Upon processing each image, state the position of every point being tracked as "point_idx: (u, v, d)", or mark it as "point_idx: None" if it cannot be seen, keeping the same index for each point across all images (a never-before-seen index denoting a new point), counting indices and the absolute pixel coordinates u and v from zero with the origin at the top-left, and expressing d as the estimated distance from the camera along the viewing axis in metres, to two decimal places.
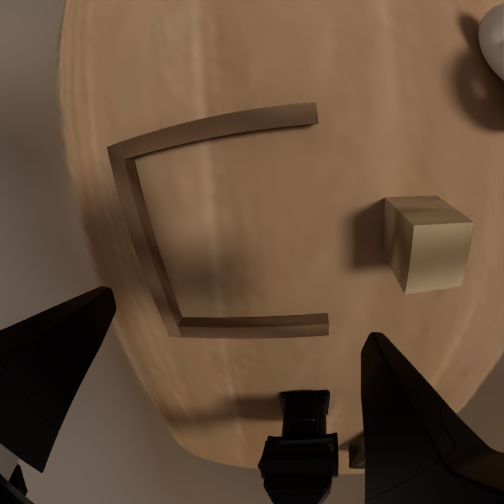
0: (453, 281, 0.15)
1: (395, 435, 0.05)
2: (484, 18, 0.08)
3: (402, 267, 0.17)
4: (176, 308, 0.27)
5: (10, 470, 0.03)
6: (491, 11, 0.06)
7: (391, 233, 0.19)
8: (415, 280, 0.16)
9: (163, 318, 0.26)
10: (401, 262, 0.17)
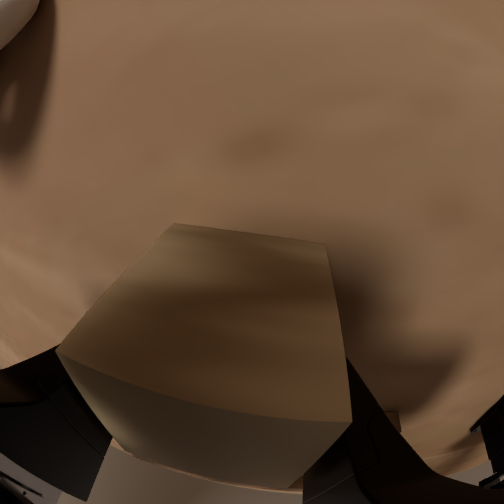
0: (302, 443, 0.04)
1: None
2: None
3: None
4: None
5: None
6: None
7: None
8: (253, 481, 0.05)
9: (297, 490, 0.19)
10: None
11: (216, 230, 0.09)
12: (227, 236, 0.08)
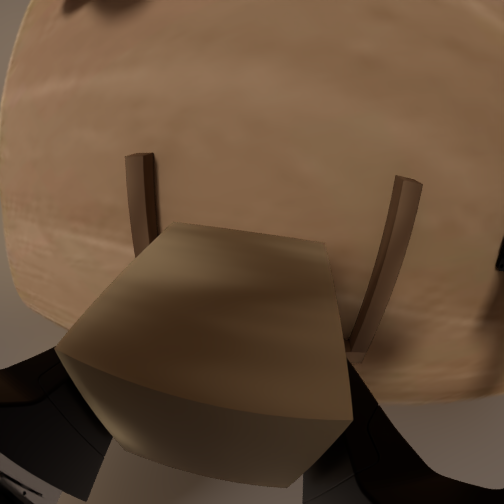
0: (302, 442, 0.04)
1: None
2: None
3: None
4: None
5: None
6: None
7: None
8: (253, 480, 0.05)
9: None
10: None
11: (216, 228, 0.09)
12: (227, 234, 0.08)
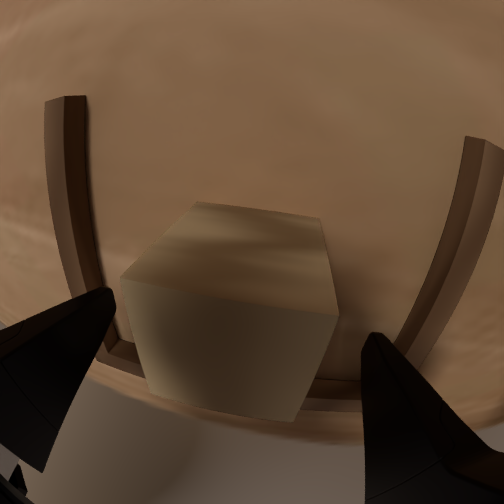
0: (305, 343, 0.06)
1: (395, 435, 0.05)
2: None
3: None
4: (349, 386, 0.15)
5: (10, 470, 0.03)
6: None
7: None
8: (264, 410, 0.08)
9: (351, 410, 0.14)
10: None
11: (233, 206, 0.11)
12: (242, 210, 0.11)
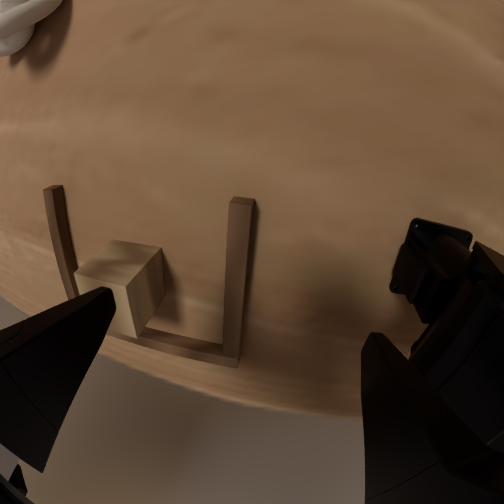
0: (121, 296, 0.17)
1: (395, 435, 0.05)
2: None
3: None
4: (209, 345, 0.26)
5: (10, 470, 0.03)
6: None
7: None
8: (124, 329, 0.19)
9: (212, 362, 0.25)
10: None
11: (126, 242, 0.22)
12: (128, 244, 0.22)
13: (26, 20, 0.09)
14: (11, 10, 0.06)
